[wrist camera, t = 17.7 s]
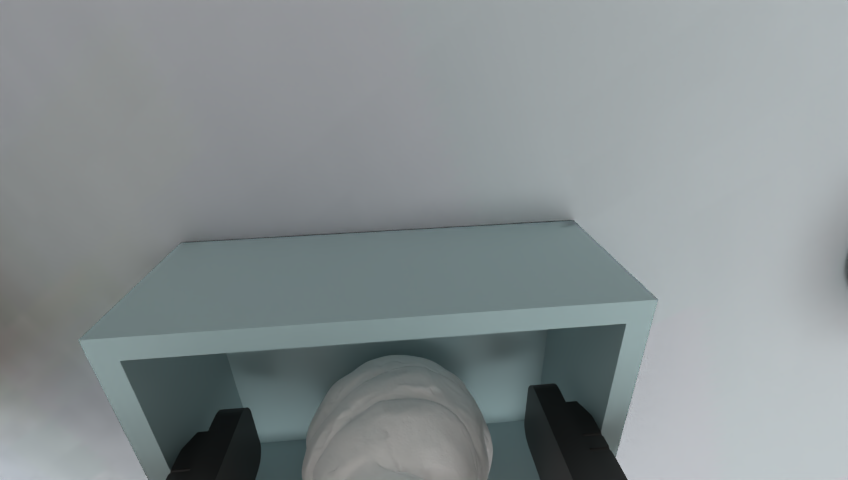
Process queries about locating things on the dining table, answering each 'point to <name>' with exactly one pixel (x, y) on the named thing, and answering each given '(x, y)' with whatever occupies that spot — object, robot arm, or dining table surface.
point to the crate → (370, 332)
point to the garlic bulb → (398, 426)
